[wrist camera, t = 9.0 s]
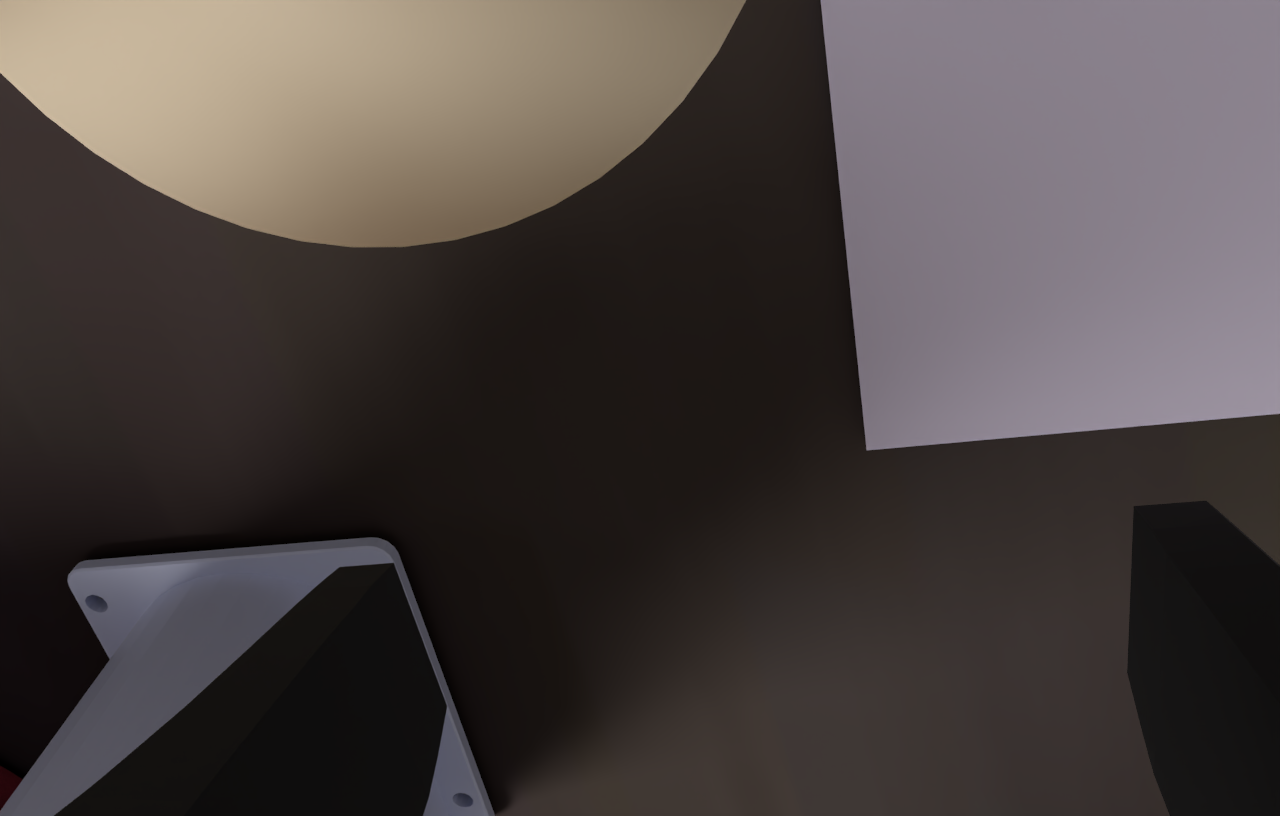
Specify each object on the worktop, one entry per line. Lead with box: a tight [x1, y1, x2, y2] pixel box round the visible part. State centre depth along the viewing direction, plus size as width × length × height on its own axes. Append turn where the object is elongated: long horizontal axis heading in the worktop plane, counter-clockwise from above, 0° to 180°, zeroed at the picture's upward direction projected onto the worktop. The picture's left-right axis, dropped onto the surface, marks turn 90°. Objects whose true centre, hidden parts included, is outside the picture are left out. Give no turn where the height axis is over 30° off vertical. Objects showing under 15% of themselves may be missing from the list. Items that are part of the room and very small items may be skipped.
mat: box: [821, 0, 1280, 450], centre depth 18 cm, size 12×12×1 cm
